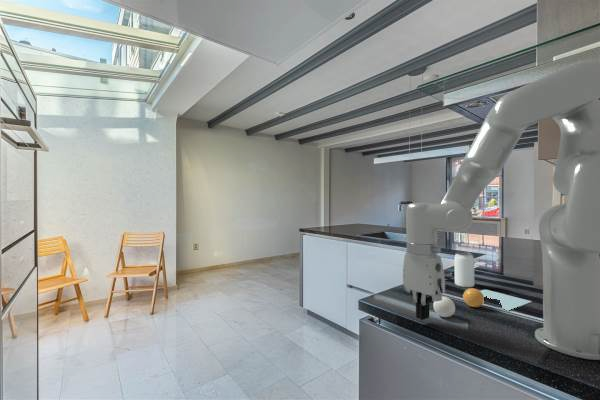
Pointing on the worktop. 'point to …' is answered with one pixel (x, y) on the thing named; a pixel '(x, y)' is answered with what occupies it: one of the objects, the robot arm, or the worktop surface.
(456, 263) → the can
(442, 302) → the cue ball
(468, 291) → the object ball
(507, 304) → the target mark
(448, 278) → the worktop surface
